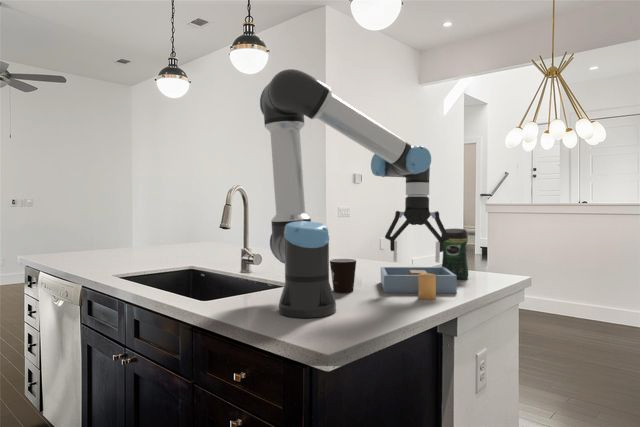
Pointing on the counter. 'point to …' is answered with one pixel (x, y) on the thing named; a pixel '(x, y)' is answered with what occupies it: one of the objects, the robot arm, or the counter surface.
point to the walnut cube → (416, 272)
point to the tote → (416, 279)
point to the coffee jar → (456, 252)
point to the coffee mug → (343, 275)
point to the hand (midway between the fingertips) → (416, 261)
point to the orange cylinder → (427, 286)
